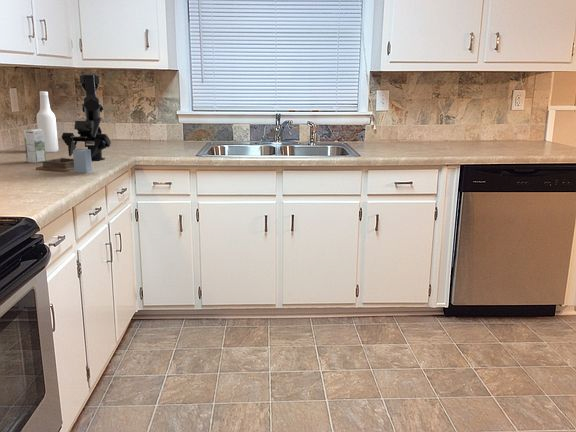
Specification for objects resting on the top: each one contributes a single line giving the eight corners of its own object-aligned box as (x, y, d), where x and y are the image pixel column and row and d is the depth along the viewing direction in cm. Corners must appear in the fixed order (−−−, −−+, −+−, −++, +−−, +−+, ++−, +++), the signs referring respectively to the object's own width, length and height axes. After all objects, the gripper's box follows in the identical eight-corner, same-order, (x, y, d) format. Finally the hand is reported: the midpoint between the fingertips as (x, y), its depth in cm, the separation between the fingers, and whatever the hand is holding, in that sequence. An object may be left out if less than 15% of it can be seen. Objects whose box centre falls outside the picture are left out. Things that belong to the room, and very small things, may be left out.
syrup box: (36, 160, 234) (33, 128, 231) (46, 161, 232) (43, 129, 229) (26, 162, 229) (23, 129, 226) (36, 163, 227) (33, 130, 223)
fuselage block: (80, 170, 212) (78, 148, 210) (92, 170, 212) (90, 149, 209) (74, 172, 207) (72, 150, 205) (86, 173, 207) (84, 150, 205)
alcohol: (46, 153, 258) (40, 91, 250) (36, 151, 262) (30, 91, 255) (62, 151, 265) (56, 91, 257) (52, 149, 269) (46, 91, 262)
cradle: (61, 164, 226) (60, 156, 225) (90, 166, 222) (89, 159, 221) (35, 169, 212) (34, 161, 211) (65, 171, 208) (64, 164, 207)
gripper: (61, 112, 208) (49, 142, 200) (105, 113, 207) (95, 144, 199) (72, 130, 218) (61, 159, 210) (115, 131, 216) (105, 161, 208)
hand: (80, 156), depth 206 cm, fingers open, 9 cm apart
